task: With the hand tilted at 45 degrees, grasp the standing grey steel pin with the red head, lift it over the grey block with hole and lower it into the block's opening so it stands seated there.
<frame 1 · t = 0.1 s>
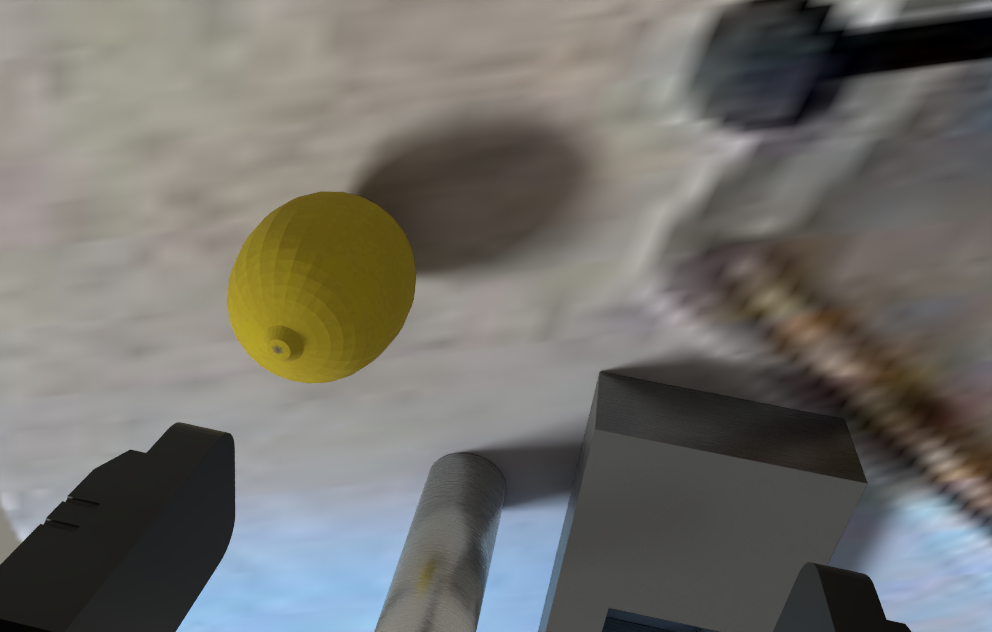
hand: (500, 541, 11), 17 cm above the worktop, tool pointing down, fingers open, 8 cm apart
pin: (466, 484, 34), on the worktop
lemon: (365, 230, 29), on the worktop
grey block with hole: (670, 544, 34), on the worktop
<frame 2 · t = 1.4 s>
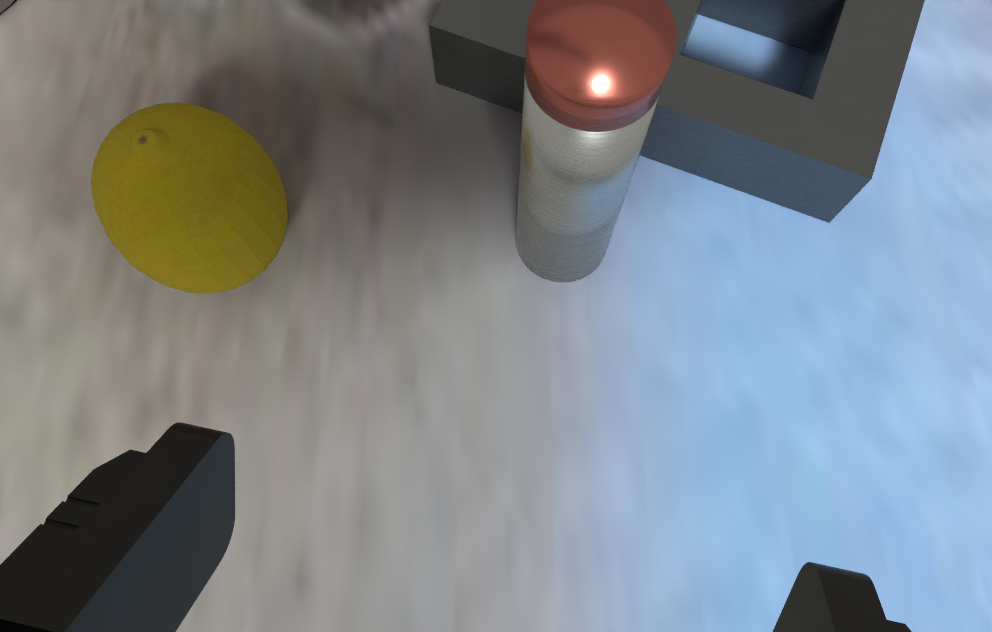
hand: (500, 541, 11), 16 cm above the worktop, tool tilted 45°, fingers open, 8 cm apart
pin: (561, 239, 29), on the worktop
lemon: (237, 252, 30), on the worktop
grey block with hole: (665, 55, 32), on the worktop
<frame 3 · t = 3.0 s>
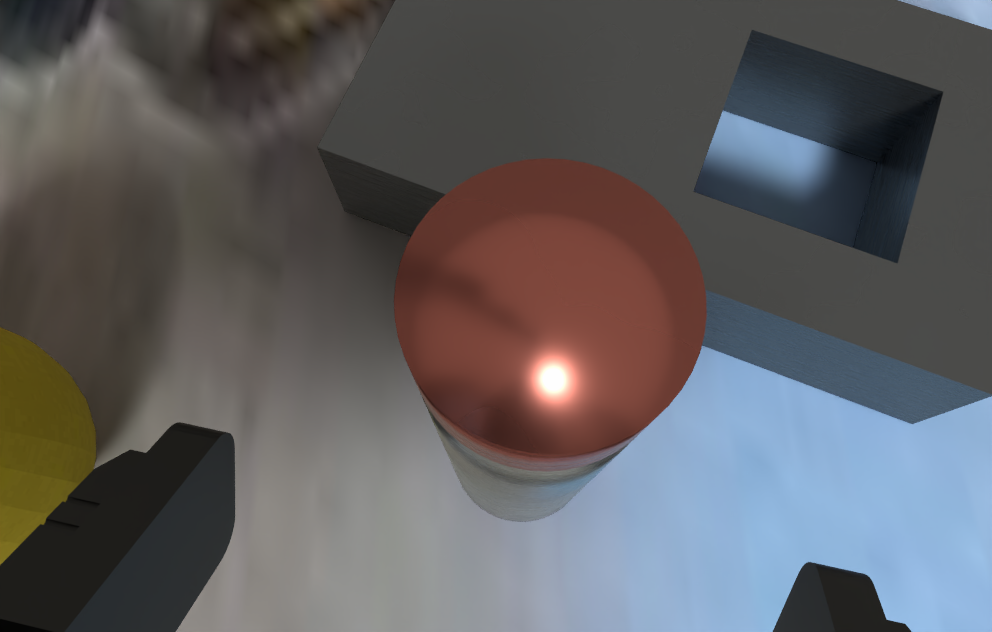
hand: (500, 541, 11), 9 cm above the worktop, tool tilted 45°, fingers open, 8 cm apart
pin: (520, 452, 20), on the worktop
lemon: (45, 474, 20), on the worktop
grey block with hole: (669, 169, 22), on the worktop
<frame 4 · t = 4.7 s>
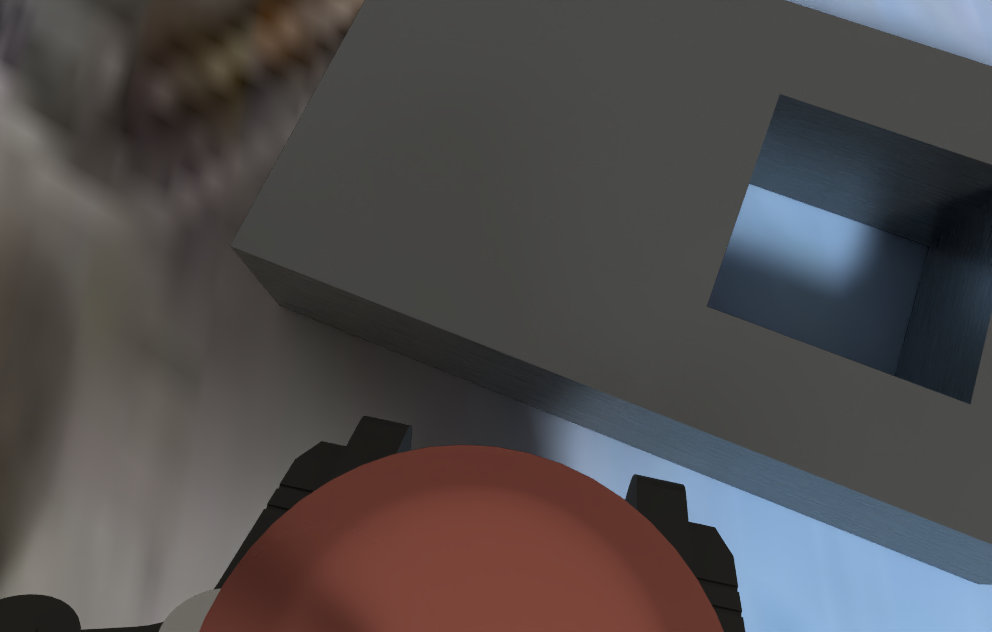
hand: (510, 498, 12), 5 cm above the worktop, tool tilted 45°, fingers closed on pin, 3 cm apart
pin: (488, 618, 16), on the worktop, touching gripper
grey block with hole: (676, 254, 18), on the worktop
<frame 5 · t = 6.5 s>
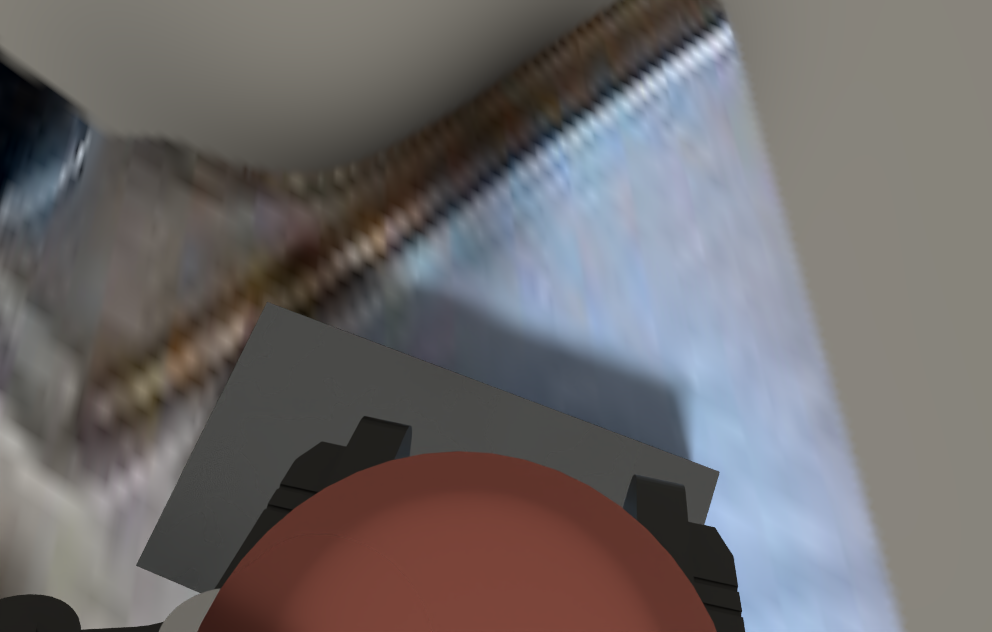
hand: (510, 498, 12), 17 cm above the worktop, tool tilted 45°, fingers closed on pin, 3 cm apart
pin: (487, 620, 16), point 12 cm above the worktop, touching gripper
grey block with hole: (440, 524, 28), on the worktop
when the fingers open (7 cm above the worktop, at t = 8.7 s): pin drops 2 cm, resting in grey block with hole.
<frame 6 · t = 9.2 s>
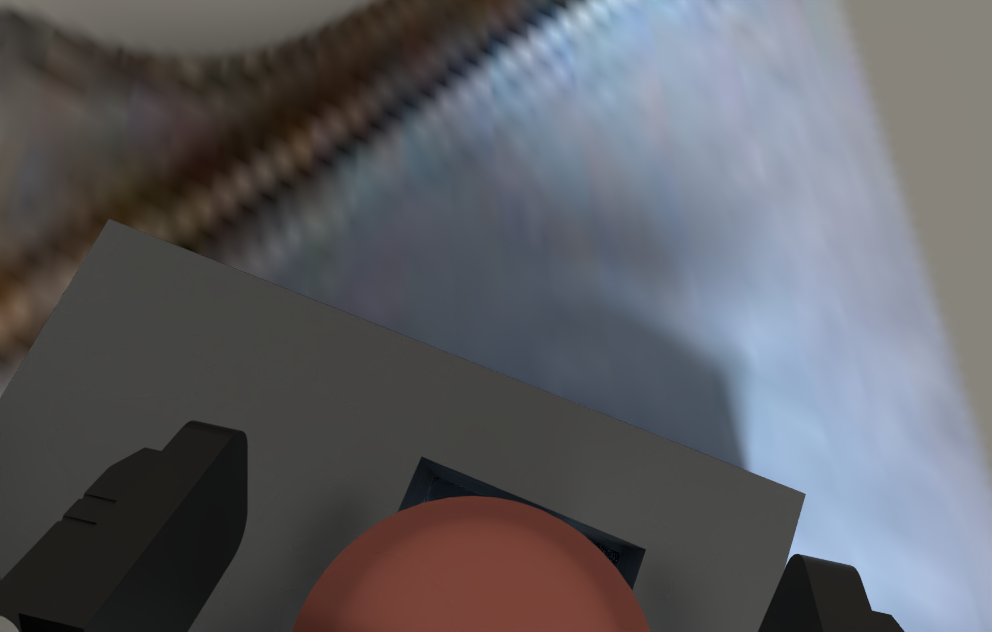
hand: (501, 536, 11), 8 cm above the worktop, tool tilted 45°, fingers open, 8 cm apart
pin: (488, 617, 18), resting in grey block with hole
grey block with hole: (371, 561, 19), on the worktop
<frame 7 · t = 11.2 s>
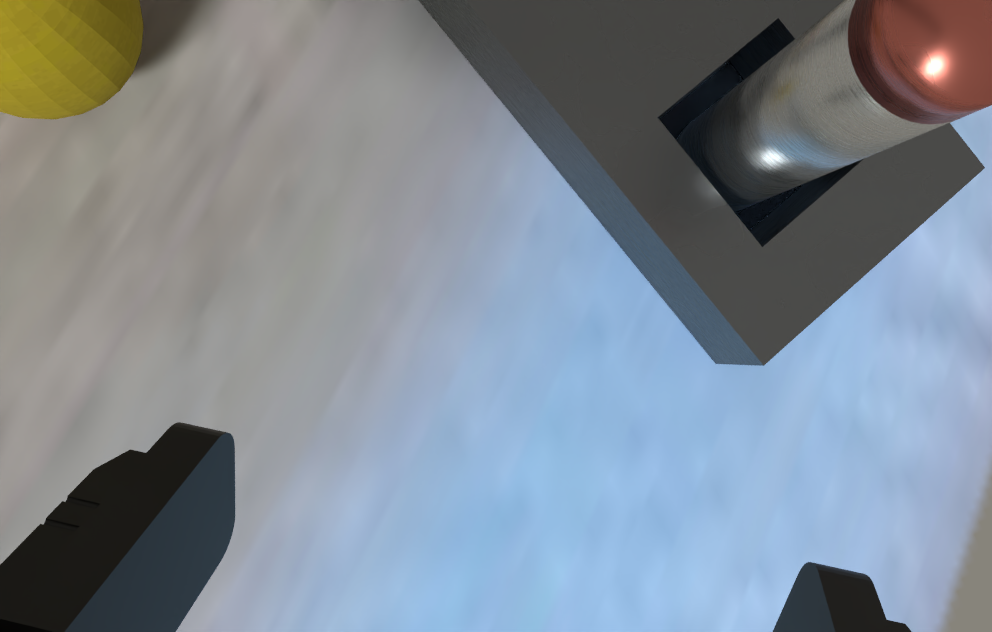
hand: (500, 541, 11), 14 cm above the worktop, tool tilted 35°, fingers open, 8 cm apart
pin: (720, 163, 27), resting in grey block with hole
lemon: (85, 63, 25), on the worktop
grey block with hole: (665, 90, 26), on the worktop
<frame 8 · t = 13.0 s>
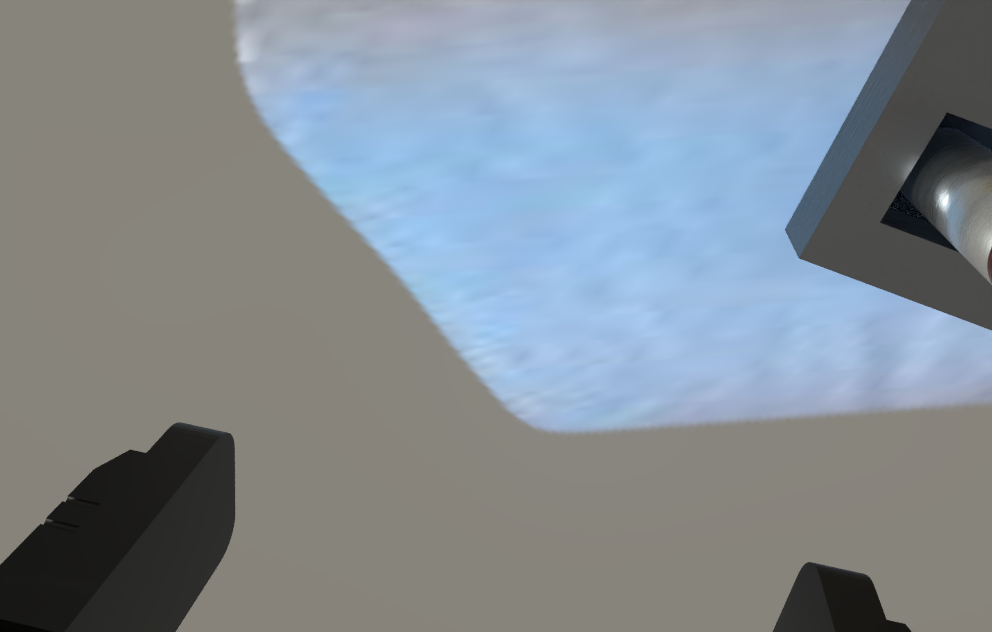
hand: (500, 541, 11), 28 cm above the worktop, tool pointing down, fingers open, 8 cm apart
pin: (935, 166, 35), resting in grey block with hole
grey block with hole: (979, 100, 33), on the worktop
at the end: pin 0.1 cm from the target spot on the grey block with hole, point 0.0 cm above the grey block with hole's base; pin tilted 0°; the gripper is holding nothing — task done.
